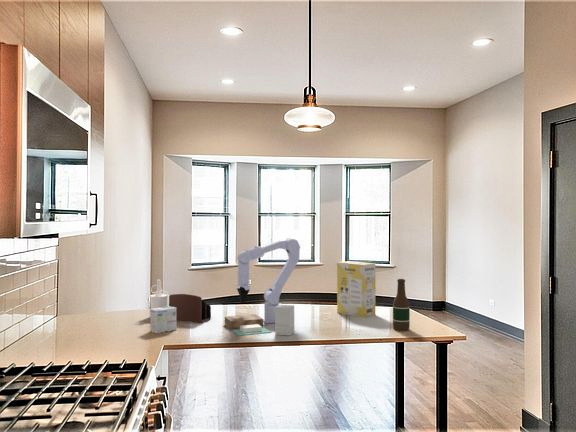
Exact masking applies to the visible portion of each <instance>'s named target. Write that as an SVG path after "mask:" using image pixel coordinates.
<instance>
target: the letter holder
mask: <svg viewBox="0 0 576 432" xmlns="http://www.w3.org/2000/svg"><path fill="white" fill-rule="evenodd" d="M169 295H170V296H169V306H171V307H176V322H186V323H195V324H202V323H204V322H205V323H206V322H207V321H210V319H211V320H212V312H211V311H212V307H211V305H210V304H208V303H207V301H205V300H202V299H203V298H202V297H201V296H198V295H193V294H187V293H186V294H185V293H175V294H174V293H173V294H169Z"/></svg>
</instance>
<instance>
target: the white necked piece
mask: <svg viewBox="0 0 576 432" xmlns="http://www.w3.org/2000/svg"><path fill="white" fill-rule="evenodd" d="M153 287H156V290H155V292H154V291H152V290H153ZM150 291H151V292H152V293H153V294H150V295H149V297H150V309H154V308H160V307H167V306H169V296H170V295H171V294H170V293H169V292H167V291H164V290H163V289H162V280H161V279H157V280H156V284H154V285H152V286H151V288H150ZM162 292H164V293H162ZM166 293H167V294H166Z"/></svg>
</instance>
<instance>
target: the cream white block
mask: <svg viewBox="0 0 576 432" xmlns="http://www.w3.org/2000/svg"><path fill="white" fill-rule="evenodd" d="M240 330H241V331H242V332H243V333H247V332H257V331H262V326H260V325H259V324H254V325H242V326H240Z"/></svg>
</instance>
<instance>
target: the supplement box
mask: <svg viewBox="0 0 576 432" xmlns="http://www.w3.org/2000/svg"><path fill="white" fill-rule="evenodd" d="M295 327H296V326H295V305H293V304H292V305H291V304H290V305H289V304H282V305H279V306H277V307H275V323H274V329H275V330H274V333H275V335H276V336H291V335H293V334H294V333H295V332H296V331H295V329H296V328H295Z"/></svg>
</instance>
